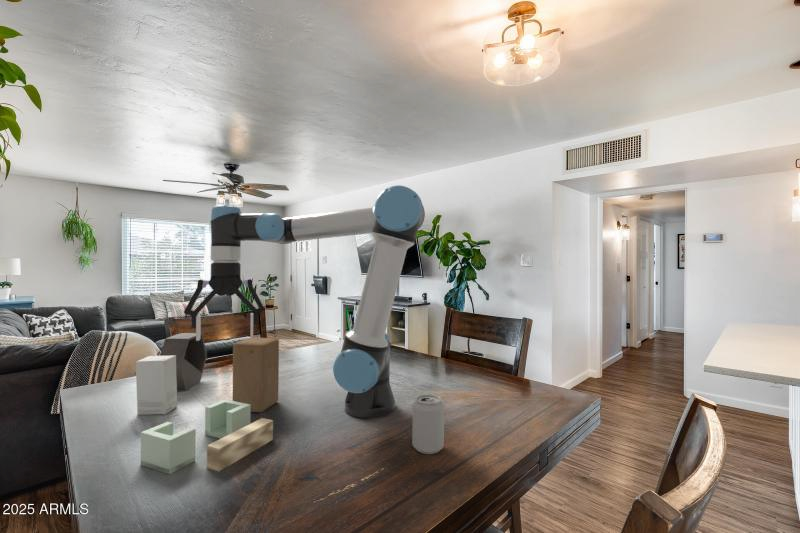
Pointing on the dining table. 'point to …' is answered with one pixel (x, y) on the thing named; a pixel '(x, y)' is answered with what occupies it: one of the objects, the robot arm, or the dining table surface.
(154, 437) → the end caps
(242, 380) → the wooden block
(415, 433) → the can
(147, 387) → the skincare box
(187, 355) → the planter
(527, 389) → the dining table surface
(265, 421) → the slat
